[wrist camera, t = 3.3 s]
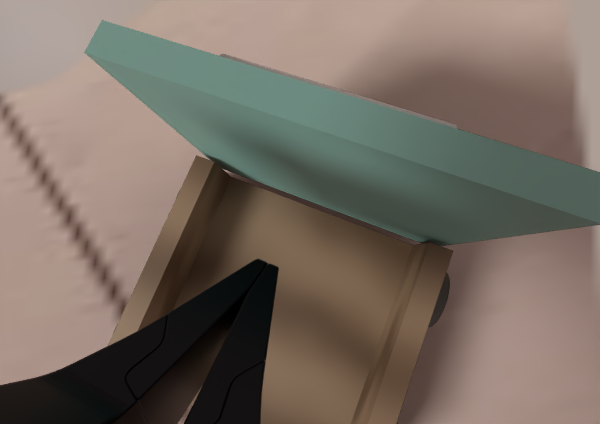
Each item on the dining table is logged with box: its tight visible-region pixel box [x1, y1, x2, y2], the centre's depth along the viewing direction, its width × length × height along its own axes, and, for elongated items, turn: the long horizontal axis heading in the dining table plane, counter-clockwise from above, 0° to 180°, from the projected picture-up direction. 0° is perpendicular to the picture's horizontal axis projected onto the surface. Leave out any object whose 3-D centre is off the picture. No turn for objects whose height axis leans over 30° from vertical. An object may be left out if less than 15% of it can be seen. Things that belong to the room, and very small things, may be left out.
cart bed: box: [108, 155, 453, 424], centre depth 17 cm, size 14×17×6 cm
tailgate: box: [84, 20, 600, 246], centre depth 13 cm, size 2×15×11 cm, turn 68°
